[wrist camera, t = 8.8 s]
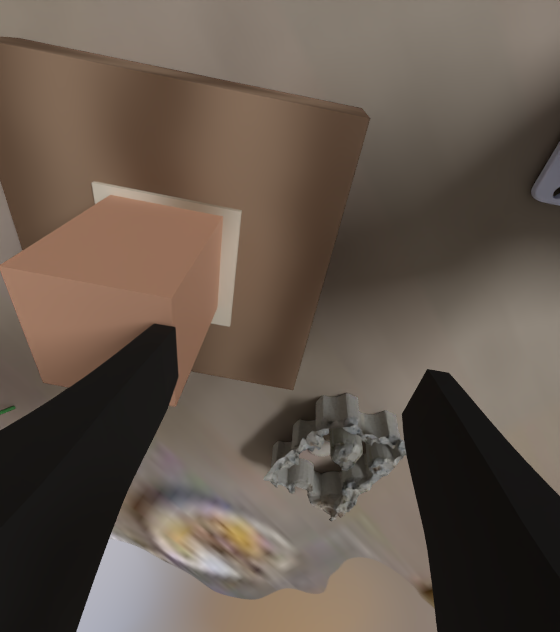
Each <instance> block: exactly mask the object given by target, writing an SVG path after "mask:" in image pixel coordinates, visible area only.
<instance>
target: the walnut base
mask: <svg viewBox="0 0 560 632" xmlns="http://www.w3.org/2000/svg"><path fill="white" fill-rule="evenodd" d="M369 121H370V118H369V116H368V115H367V114H366V113H365V112H364V110H363V109H362V108H358V107H353V106H348V105H343V104H338V103H333V102H328V101H323V100H319V99H314V98H309V97H304V96H299V95H294V94H289V93H284V92H279V91H275V90H270V89H265V88H260V87H255V86H250V85H245V84H240V83H235V82H231V81H226V80H221V79H216V78H211V77H206V76H201V75H196V74H192V73H187V72H182V71H177V70H172V69H167V68H162V67H157V66H152V65H148V64H143V63H138V62H133V61H128V60H123V59H118V58H113V57H108V56H104V55H99V54H94V53H89V52H84V51H79V50H74V49H69V48H64V47H60V46H55V45H50V44H45V43H40V42H35V41H30V40H25V39H20V38H12V37H0V181H1V184H2V187H3V190H4V193H5V197H6V200H7V203H8V206H9V209H10V212H11V215H12V219H13V222H14V225H15V228H16V231H17V234H18V237H19V240H20V244H21V247H22V250H25V249H26V248H28V247H29V246H31V245H32V244H34V243H35V242H37V241H39V240H40V239H42V238H43V237H45V236H46V235H48V234H50V233H51V232H53V231H54V230H56V229H57V228H59V227H61V226H62V225H64V224H65V223H67V222H68V221H70V220H71V219H73V218H75V217H76V216H78V215H79V214H81V213H82V212H84V211H86V210H87V209H89V208H90V207H92V206H93V205H95V204H97V203H98V202H100V201H101V200H103V199H104V198H106V197H108V196H109V195H114V196H120V197H125V198H130V199H135V200H140V201H146V202H151V203H156V204H161V205H166V206H172V207H177V208H182V209H187V210H193V211H198V212H203V213H208V214H213V215H219V216H223V227H222V243H221V259H220V276H219V292H218V307H217V310H216V312H215V315H214V317H213V319H212V322H211V324H210V326H209V329H208V331H207V334H206V336H205V338H204V341H203V343H202V345H201V348H200V350H199V353H198V355H197V357H196V360H195V362H194V365H193V367H192V369H191V371H193V372H198V373H203V374H209V375H214V376H220V377H225V378H230V379H236V380H241V381H246V382H252V383H257V384H262V385H268V386H273V387H279V388H284V389H289V390H293V389H294V386H295V382H296V379H297V375H298V371H299V368H300V364H301V361H302V357H303V354H304V350H305V347H306V343H307V340H308V336H309V333H310V329H311V326H312V322H313V319H314V315H315V311H316V308H317V304H318V301H319V297H320V294H321V290H322V287H323V283H324V280H325V276H326V273H327V269H328V266H329V262H330V259H331V255H332V251H333V248H334V244H335V241H336V237H337V234H338V230H339V227H340V223H341V220H342V216H343V213H344V209H345V206H346V202H347V199H348V195H349V191H350V188H351V184H352V181H353V177H354V174H355V170H356V167H357V163H358V160H359V156H360V153H361V149H362V146H363V142H364V139H365V135H366V131H367V128H368V124H369Z"/></svg>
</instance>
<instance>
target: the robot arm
mask: <svg viewBox="0 0 560 632" xmlns="http://www.w3.org/2000/svg"><path fill="white" fill-rule="evenodd" d="M559 187H560V142H559V143H558V145H557V147H556V148H555V150H554V152H553V153H552V155H551V157H550V159H549V160H548V162H547V164H546V165H545V167H544V169H543V170H542V172H541V174H540V175H539V177H538V179H537V180H536V182H535V184H534V185H533V188H532V190H531V195H532V196H533V198H534V199H536V200H538V201H540V202H544V203H549V204H554V205H559V206H560V193H559V194H558V195H556V196H553V193H554V191H555V190H556V189H557V188H559ZM178 377H179V374H178V358H177V342H176V327H173V326H167V325H161V324H155V323H154V324H153V325H151V326H150V327H149V328H147V329H146V330H145V331H144V332H142V333H141V334H140V335H139V336H137V337H136V338H135V339H134V340H132V341H131V342H130V343H129V344H127V345H126V346H125V347H123V348H122V349H121V350H120V351H118V352H117V353H116V354H114V355H113V356H112V357H111V358H109V359H108V360H107V361H105V362H104V363H103V364H101V365H100V366H99V367H97V368H96V369H95V370H93V371H92V372H91V373H89V374H88V375H86V376H85V377H84V378H82V379H81V380H79V381H78V382H76V383H75V384H73V385H72V386H71V387H69V388H68V389H66V390H65V391H63V392H62V393H60V394H59V395H57V396H56V397H54V398H53V399H51V400H50V401H48V402H47V403H45V404H44V405H42V406H40V407H39V408H37V409H36V410H34V411H32V412H31V413H29V414H28V415H26V416H24V417H22V418H21V419H19V420H17V421H16V422H14V423H12V424H11V425H9V426H7V427H6V428H4V429H2V430H0V632H76V630H77V628H78V625H79V622H80V619H81V616H82V613H83V610H84V607H85V604H86V601H87V599H88V596H89V593H90V590H91V587H92V584H93V581H94V578H95V575H96V573H97V570H98V567H99V565H100V562H101V559H102V556H103V554H104V551H105V548H106V545H107V543H108V540H109V537H110V535H111V532H112V529H113V527H114V524H115V522H116V519H117V516H118V514H119V511H120V509H121V506H122V503H123V501H124V498H125V496H126V494H127V491H128V489H129V487H130V485H131V482H132V480H133V478H134V476H135V474H136V472H137V470H138V468H139V466H140V464H141V462H142V460H143V458H144V456H145V454H146V452H147V450H148V448H149V446H150V444H151V442H152V440H153V438H154V436H155V434H156V432H157V430H158V428H159V425H160V423H161V421H162V419H163V417H164V415H165V413H166V411H167V409H168V406H169V403H170V401H171V398H172V395H173V392H174V389H175V386H176V383H177V380H178ZM402 421H403V433H404V442H405V450H406V454H407V459H408V464H409V468H410V473H411V477H412V481H413V486H414V490H415V494H416V499H417V503H418V507H419V512H420V516H421V520H422V525H423V529H424V534H425V539H426V544H427V550H428V558H429V565H430V573H431V580H432V588H433V596H434V605H435V614H436V623H437V631H438V632H560V496H559V495H558V494H557V493H556V492H555V491H554V490H553V489H552V488H551V487H550V486H549V485H548V484H547V483H546V482H545V481H544V480H543V478H542V477H541V476H540V475H539V474H538V473H537V472H536V471H535V470H534V469H533V468H532V467H531V466H530V465H529V464H528V463H527V462H526V461H525V460H524V458H523V457H522V456H521V455H520V454H519V453H518V452H517V451H516V450H515V449H514V448H513V446H512V445H511V444H510V443H509V442H508V441H507V440H506V439H505V437H504V436H503V435H502V434H501V433H500V432H499V431H498V429H497V428H496V427H495V426H494V425H493V424H492V422H491V421H490V420H489V419H488V418H487V417H486V415H485V414H484V413H483V412H482V411H481V410H480V408H479V407H478V406H477V405H476V404H475V403H474V401H473V400H472V399H471V398H470V397H469V395H468V394H467V393H466V392H465V391H464V390H463V388H462V387H461V386H460V385H459V384H458V383H457V381H456V380H455V379H454V378H453V377H452V376H451V375H450V374H449V373H447V372H441V371H435V370H429V369H427V371H426V372H425V374H424V376H423V378H422V379H421V381H420V383H419V385H418V387H417V388H416V390H415V392H414V394H413V395H412V397H411V399H410V401H409V403H408V404H407V406H406V408H405V410H404V411H403V413H402Z"/></svg>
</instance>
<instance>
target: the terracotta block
mask: <svg viewBox="0 0 560 632" xmlns="http://www.w3.org/2000/svg"><path fill="white" fill-rule="evenodd" d="M222 227H223V216H219V215H213V214H208V213H203V212H198V211H193V210H187V209H182V208H177V207H172V206H166V205H161V204H156V203H151V202H146V201H140V200H135V199H130V198H125V197H120V196H114V195H109V196H108V197H106V198H104V199H103V200H101V201H100V202H98V203H97V204H95V205H93V206H92V207H90V208H89V209H87V210H86V211H84V212H82V213H81V214H79V215H78V216H76V217H75V218H73V219H71V220H70V221H68V222H67V223H65V224H64V225H62V226H61V227H59V228H57V229H56V230H54V231H53V232H51V233H50V234H48V235H46V236H45V237H43V238H42V239H40V240H39V241H37V242H35V243H34V244H32V245H31V246H29V247H28V248H26V249H25V250H23V251H21V252H20V253H18V254H17V255H15V256H14V257H12V258H10V259H9V260H7V261H6V262H4V263H3V264H1V265H0V271H1V274H2V276H3V279H4V282H5V284H6V287H7V289H8V292H9V295H10V297H11V300H12V302H13V305H14V308H15V310H16V313H17V316H18V318H19V321H20V323H21V326H22V329H23V331H24V334H25V336H26V339H27V342H28V344H29V347H30V350H31V352H32V355H33V357H34V360H35V363H36V365H37V368H38V370H39V373H40V376H41V378H42V381H43V383H47V384H53V385H58V386H64V387H71V386H72V385H73V384H75V383H76V382H78V381H79V380H81V379H82V378H84V377H85V376H86V375H88V374H89V373H91V372H92V371H93V370H95V369H96V368H97V367H99V366H100V365H101V364H103V363H104V362H105V361H107V360H108V359H109V358H111V357H112V356H113V355H114V354H116V353H117V352H118V351H120V350H121V349H122V348H123V347H125V346H126V345H127V344H129V343H130V342H131V341H132V340H134V339H135V338H136V337H137V336H139V335H140V334H141V333H142V332H144V331H145V330H146V329H147V328H149V327H150V326H151V325H153V324H154V323H155V324H161V325H167V326H173V327H176V342H177V358H178V374H179V377H178V380H177V383H176V386H175V389H174V392H173V395H172V398H171V401H170V403H169V406H174V407H176V405H177V403H178V400H179V398H180V395H181V393H182V391H183V388H184V386H185V384H186V381H187V379H188V376H189V374H190V372H191V369H192V367H193V365H194V362H195V360H196V357H197V355H198V353H199V350H200V348H201V345H202V343H203V341H204V338H205V336H206V334H207V331H208V329H209V326H210V324H211V322H212V319H213V317H214V315H215V312H216V310H217V307H218V292H219V276H220V259H221V243H222Z"/></svg>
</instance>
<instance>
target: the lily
mask: <svg viewBox="0 0 560 632" xmlns="http://www.w3.org/2000/svg"><path fill="white" fill-rule="evenodd" d="M13 409H15V406H12V407H9V408H6V409H4V410H1V411H0V414H3V413H6V412H8V411H11V410H13Z"/></svg>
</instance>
